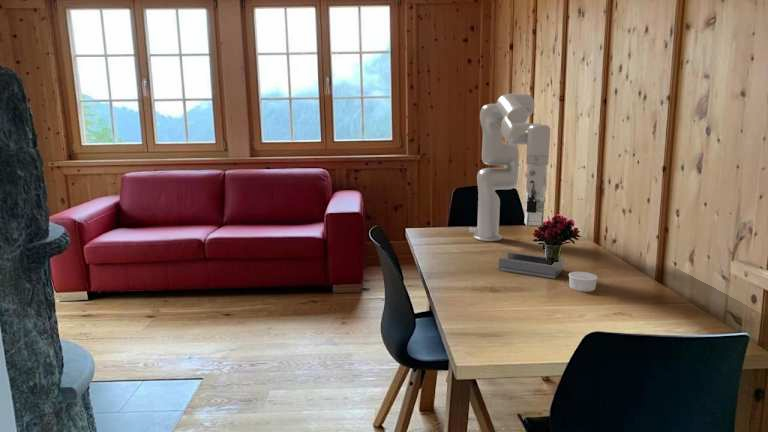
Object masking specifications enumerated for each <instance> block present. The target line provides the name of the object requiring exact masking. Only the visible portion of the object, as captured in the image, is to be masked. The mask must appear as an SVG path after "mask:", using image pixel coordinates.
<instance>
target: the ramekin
mask: <svg viewBox="0 0 768 432" xmlns="http://www.w3.org/2000/svg"><path fill="white" fill-rule="evenodd" d="M568 277H569V278H568V279H569V281H568V283H569V285H568V286H569V287H570V289H572V290H574V291H578V292H585V293H587V292H588V293H589V292H593V291H595V290H596V286H597V281H598V276H597V275H596V274H594V273H592V272H587V271H571V272H569V273H568Z"/></svg>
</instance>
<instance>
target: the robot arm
mask: <svg viewBox="0 0 768 432" xmlns="http://www.w3.org/2000/svg"><path fill="white" fill-rule="evenodd" d="M535 104H536V103H535V101H534V98H533V96H532V95H530V94H528V93H506V94H502V95H500V97H499V98H498V99H497V102H496V103H488V104H484V105H483V106H482V107H481V109H480V111H479V120H480V125H481V130H482V139H481V140H482V141H481V142H482V145H481V161H482V163H483V164H484V165H488V166H505V167H486V168H481V169H479V171H478V172H477V175H476V182H477V192H478V194H477V198H478V200H477V226H476V227H471V226H469V228H468V232H469V233H474V234H473V239H475V240H478V241H483V242H498V241H501V240H502V239H503V236H502V235H501V234H500V233H499V231H500V230H499V227H500V213H501V212H500V208H501V207H500V206H501V200H500V199H501V198H500V197H499V194H497V192H496V191H497V190H512V189H514V188H516V186H517V185H518V184H517V183H518V176H519V175H518V174H519V162H520V158H519V157H520V152H519V149H518V148H519V147H518V145H521V146H522V145H526V154H525V155H526V156H525V166H526V165H527V172H526V173H527V174H526V175H527V176H526V186H525V187H526V189H525V192H526V191H527V193H528V195H527V212H531V213H536V204H537V201H536V197H537V193H538V194H541V193H542V187H543V186H545V187H546V189H545V192H546V191H547V188H548V187H547V185H548V184H547V182H548V180H547V175H548V171H547V169H548V167H547V166H549V159H550V158H549V157H550V156H549V155H550V146H551V145H550V142H551V127H550V125H548V124H542V123H527V121H528V119H529V118H530V116H531V115H533V112H534V110H535ZM500 125H501V126H500ZM503 138H504V139H505V141H506V142H503ZM532 191H535V192H532Z"/></svg>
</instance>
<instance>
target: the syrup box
mask: <svg viewBox="0 0 768 432" xmlns="http://www.w3.org/2000/svg"><path fill="white" fill-rule="evenodd" d="M545 189H546V190H547V187H545V186H543V187H542V193H541V194H538V193H537V197H536V201H537V204H536V213H531V212H527V195H528V193H527V191H526V190H525V201H524V202H525V203H524V217H523V218H524V221H523V223H524V224H525V226H527V227H543V226H544V213H545V212H544V211H545V201H546V191H545ZM532 192H535V191H532Z"/></svg>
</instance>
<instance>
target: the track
mask: <svg viewBox="0 0 768 432" xmlns="http://www.w3.org/2000/svg"><path fill="white" fill-rule="evenodd" d="M546 257H547V256H543V255H537V254H536V255H535V254H530V253H529V254H528V253H522V252H514V251H508V252H507V257H506V258H505V257H500V258H499V259H498V267H497V270H498V271H503V272H508V273H514V274H515V273H516V274H523V275H527V276H534V277H542V278H546V279H547V278H548V279H556V278H557V277H558V275H559V274H560V273H561V272H562V271H563V270H564V259H563V258H559V262H554V263H553V264H552V265H548V264H547V262H546Z"/></svg>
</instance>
